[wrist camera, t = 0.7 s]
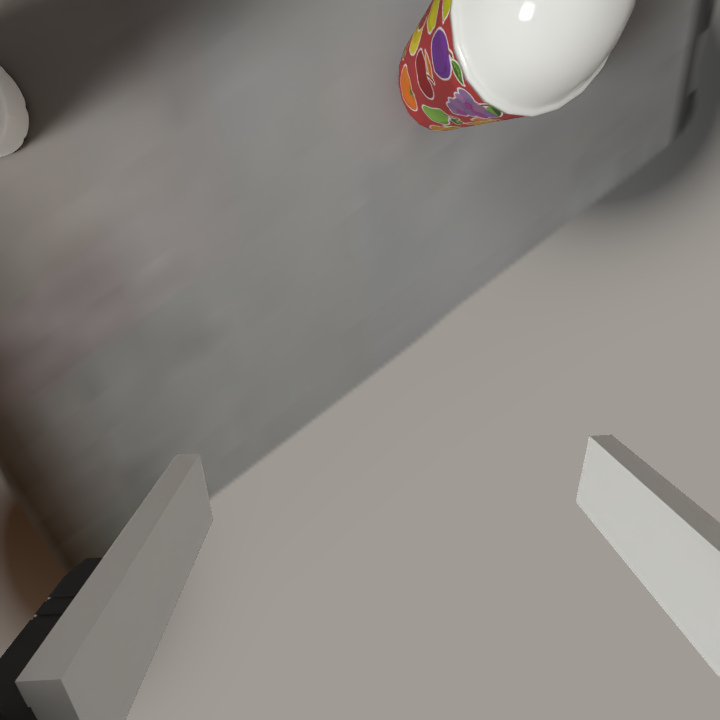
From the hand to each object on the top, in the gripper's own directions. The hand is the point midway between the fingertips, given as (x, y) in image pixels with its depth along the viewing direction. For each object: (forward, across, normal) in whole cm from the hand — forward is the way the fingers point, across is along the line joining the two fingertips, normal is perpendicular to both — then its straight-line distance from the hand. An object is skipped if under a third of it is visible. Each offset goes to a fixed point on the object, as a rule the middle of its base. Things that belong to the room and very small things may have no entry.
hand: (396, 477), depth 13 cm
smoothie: (+24, +6, +18) cm, 31 cm away
